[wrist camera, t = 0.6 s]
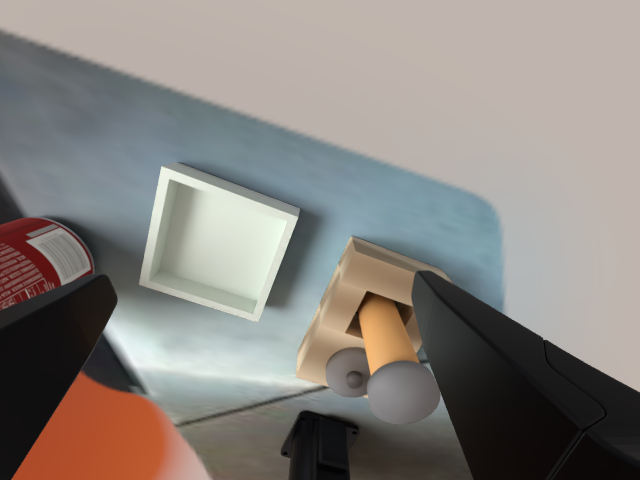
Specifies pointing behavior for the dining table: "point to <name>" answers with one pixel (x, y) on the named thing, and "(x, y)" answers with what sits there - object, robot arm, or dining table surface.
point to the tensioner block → (356, 316)
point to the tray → (215, 241)
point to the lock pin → (394, 365)
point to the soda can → (39, 258)
